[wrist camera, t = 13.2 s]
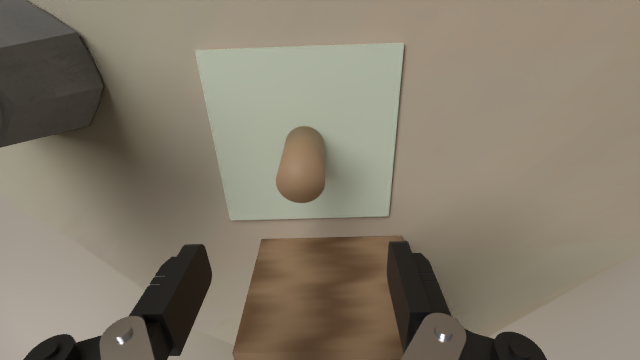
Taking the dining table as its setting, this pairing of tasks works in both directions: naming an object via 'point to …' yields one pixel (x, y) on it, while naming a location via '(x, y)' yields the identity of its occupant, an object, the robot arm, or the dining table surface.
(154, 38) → the dining table surface
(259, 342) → the box
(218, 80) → the lid
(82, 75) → the coffeepot
